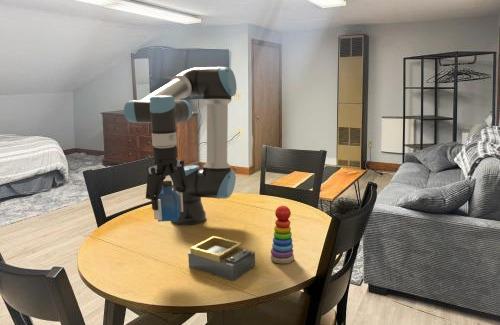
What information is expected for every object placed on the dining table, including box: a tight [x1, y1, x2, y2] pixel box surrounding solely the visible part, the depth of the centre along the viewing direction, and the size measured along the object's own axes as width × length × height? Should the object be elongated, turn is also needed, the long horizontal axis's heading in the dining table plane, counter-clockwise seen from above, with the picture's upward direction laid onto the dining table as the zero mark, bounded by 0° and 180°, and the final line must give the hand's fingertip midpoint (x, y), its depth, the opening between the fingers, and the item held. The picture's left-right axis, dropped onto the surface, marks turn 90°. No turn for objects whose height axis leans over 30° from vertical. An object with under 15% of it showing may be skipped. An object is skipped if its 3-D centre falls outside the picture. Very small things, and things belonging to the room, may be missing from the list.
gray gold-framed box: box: [187, 235, 256, 282], centre depth 136 cm, size 18×12×7 cm, turn 56°
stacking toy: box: [269, 205, 295, 265], centre depth 140 cm, size 8×8×19 cm
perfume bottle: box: [157, 180, 180, 223], centre depth 134 cm, size 6×6×12 cm
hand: (169, 215), depth 135 cm, fingers closed on perfume bottle, 9 cm apart
